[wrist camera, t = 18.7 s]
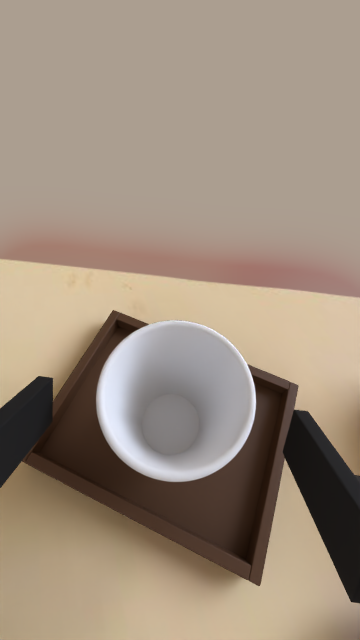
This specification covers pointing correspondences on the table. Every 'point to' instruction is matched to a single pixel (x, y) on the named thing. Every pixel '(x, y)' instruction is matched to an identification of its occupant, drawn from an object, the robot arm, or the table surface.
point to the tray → (163, 496)
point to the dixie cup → (176, 401)
